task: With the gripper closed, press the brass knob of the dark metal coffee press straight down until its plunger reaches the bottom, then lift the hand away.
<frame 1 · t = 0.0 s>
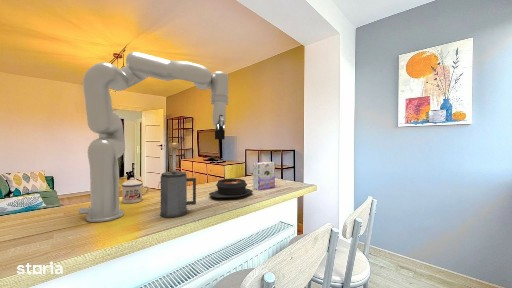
hand: (219, 139, 101), 31 cm above the counter, tool pointing down, fingers open, 9 cm apart
coffee press: (174, 213, 95), on the counter
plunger: (174, 167, 95), point 19 cm above the counter, slide at 7.5 cm
teacup with lid: (135, 201, 113), on the counter
candy box: (263, 188, 145), on the counter
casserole: (231, 196, 125), on the counter
figurine: (166, 202, 112), on the counter
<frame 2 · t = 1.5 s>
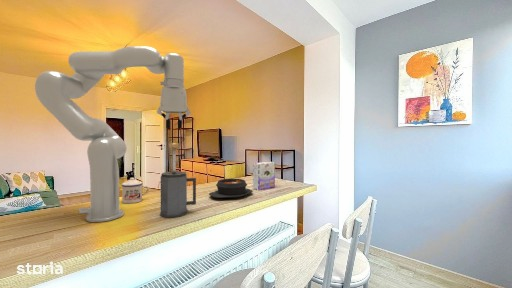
hand: (174, 129, 94), 35 cm above the counter, tool pointing down, fingers open, 3 cm apart
nothing on the counter moved.
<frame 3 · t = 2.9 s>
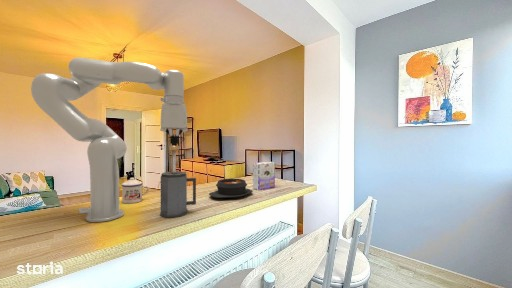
hand: (174, 145, 95), 29 cm above the counter, tool pointing down, fingers closed
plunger: (174, 169, 95), point 18 cm above the counter, slide at 6.5 cm, touching gripper
everything else where it was.
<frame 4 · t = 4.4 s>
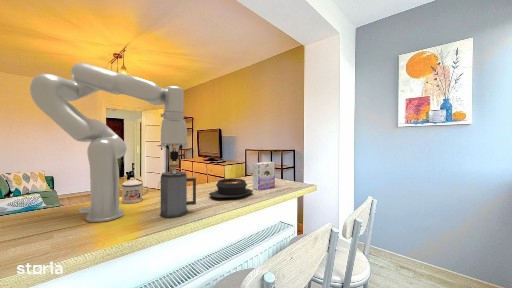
hand: (174, 161, 95), 22 cm above the counter, tool pointing down, fingers closed
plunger: (174, 185, 95), point 12 cm above the counter, slide at 0.1 cm, touching gripper
everything else where it was.
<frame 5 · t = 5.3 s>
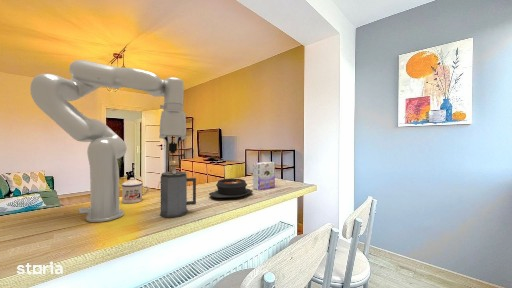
hand: (172, 152, 95), 25 cm above the counter, tool pointing down, fingers closed
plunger: (174, 185, 95), point 12 cm above the counter, slide at 0.0 cm
everything else where it was.
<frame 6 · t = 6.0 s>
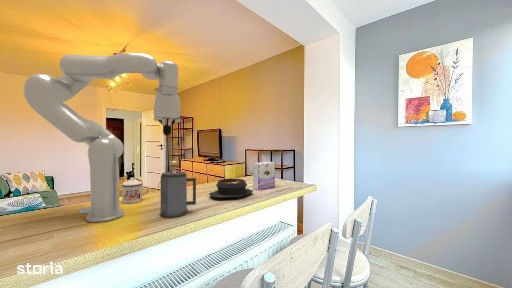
hand: (166, 135, 97), 33 cm above the counter, tool pointing down, fingers closed
nothing on the counter moved.
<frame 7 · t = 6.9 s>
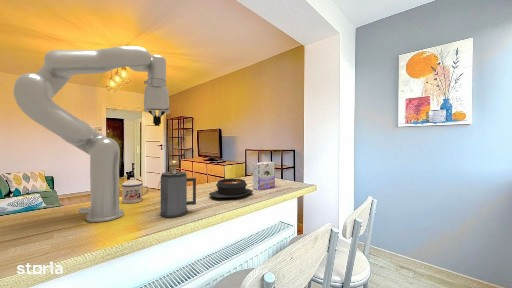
hand: (157, 125, 102), 37 cm above the counter, tool pointing down, fingers closed
nothing on the counter moved.
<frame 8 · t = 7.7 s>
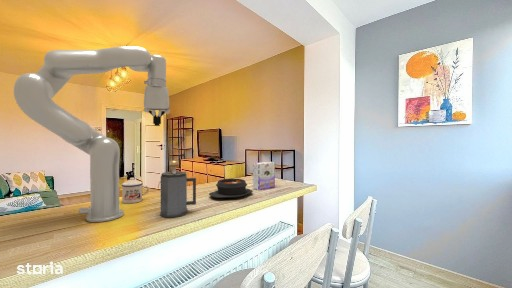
hand: (157, 125, 102), 37 cm above the counter, tool pointing down, fingers closed
nothing on the counter moved.
at the end: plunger slide at 0.0 cm; teacup with lid moved 0.2 cm from its start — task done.
